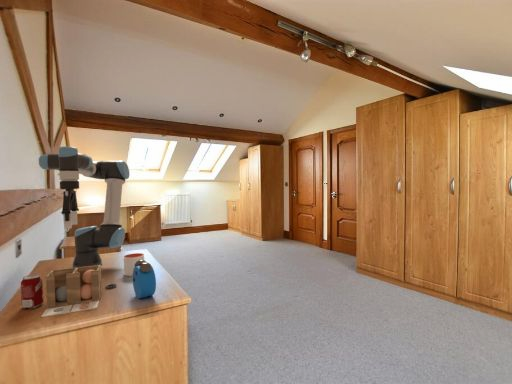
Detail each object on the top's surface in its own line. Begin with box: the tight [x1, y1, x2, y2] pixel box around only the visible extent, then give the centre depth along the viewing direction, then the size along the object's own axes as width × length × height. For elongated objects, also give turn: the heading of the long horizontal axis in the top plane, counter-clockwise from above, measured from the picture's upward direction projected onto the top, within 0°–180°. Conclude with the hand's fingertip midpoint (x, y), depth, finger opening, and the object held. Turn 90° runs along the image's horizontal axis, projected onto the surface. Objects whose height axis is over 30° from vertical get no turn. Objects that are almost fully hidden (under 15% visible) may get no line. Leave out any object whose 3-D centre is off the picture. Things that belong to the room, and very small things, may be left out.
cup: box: [123, 252, 145, 277], centre depth 153 cm, size 10×10×10 cm
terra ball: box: [82, 269, 94, 284], centre depth 121 cm, size 6×6×6 cm
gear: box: [105, 283, 117, 290], centre depth 133 cm, size 4×4×1 cm
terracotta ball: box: [80, 284, 92, 299], centre depth 118 cm, size 6×6×6 cm
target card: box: [40, 301, 100, 318], centre depth 110 cm, size 7×18×1 cm, turn 113°
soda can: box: [20, 273, 44, 309], centre depth 114 cm, size 7×7×12 cm
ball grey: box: [55, 286, 67, 302], centre depth 117 cm, size 6×6×6 cm
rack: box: [45, 264, 103, 309], centre depth 118 cm, size 9×18×13 cm, turn 113°
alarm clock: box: [132, 259, 157, 299], centre depth 121 cm, size 13×6×15 cm, turn 38°
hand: (71, 226), depth 133 cm, fingers open, 13 cm apart
